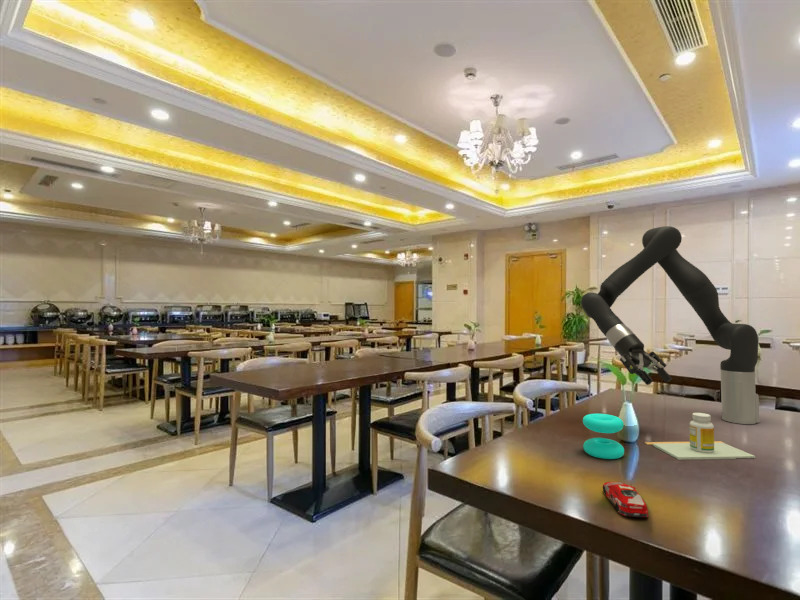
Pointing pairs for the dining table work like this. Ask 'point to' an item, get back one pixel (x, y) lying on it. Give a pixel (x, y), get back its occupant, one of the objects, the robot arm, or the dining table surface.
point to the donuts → (603, 445)
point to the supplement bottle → (701, 433)
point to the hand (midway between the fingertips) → (659, 381)
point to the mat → (686, 453)
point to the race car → (625, 499)
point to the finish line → (673, 442)
